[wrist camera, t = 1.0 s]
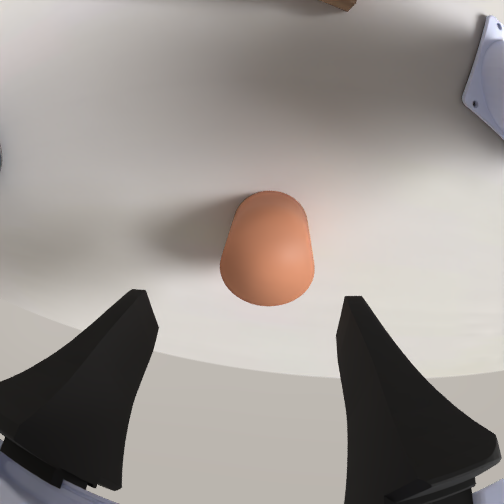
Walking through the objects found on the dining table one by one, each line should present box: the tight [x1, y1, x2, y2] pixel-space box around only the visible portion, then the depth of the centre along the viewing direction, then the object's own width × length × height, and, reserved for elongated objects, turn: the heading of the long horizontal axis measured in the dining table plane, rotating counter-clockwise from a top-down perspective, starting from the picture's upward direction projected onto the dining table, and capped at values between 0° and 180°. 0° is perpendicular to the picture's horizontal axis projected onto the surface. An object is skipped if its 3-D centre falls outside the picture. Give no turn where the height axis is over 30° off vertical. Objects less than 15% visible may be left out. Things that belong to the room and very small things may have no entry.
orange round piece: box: [220, 191, 314, 306], centre depth 17 cm, size 5×5×5 cm
